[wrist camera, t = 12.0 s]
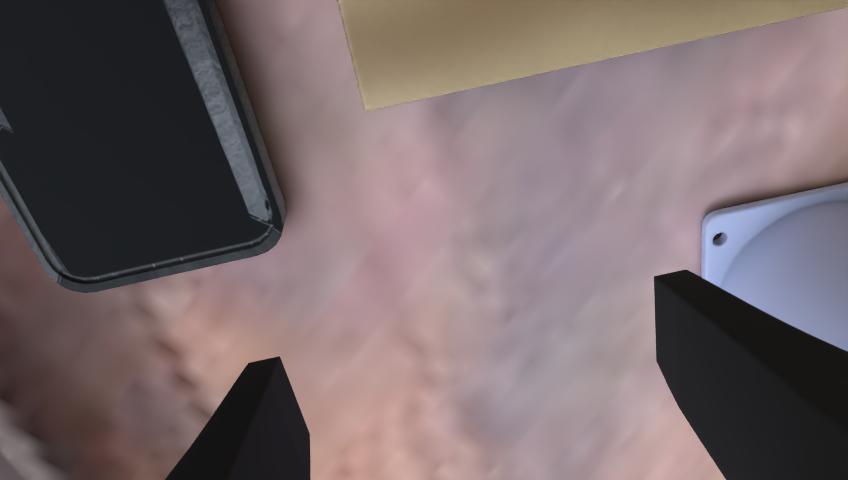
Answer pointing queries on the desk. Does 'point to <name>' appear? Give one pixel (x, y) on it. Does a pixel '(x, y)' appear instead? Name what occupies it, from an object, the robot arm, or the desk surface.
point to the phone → (130, 141)
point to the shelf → (526, 37)
